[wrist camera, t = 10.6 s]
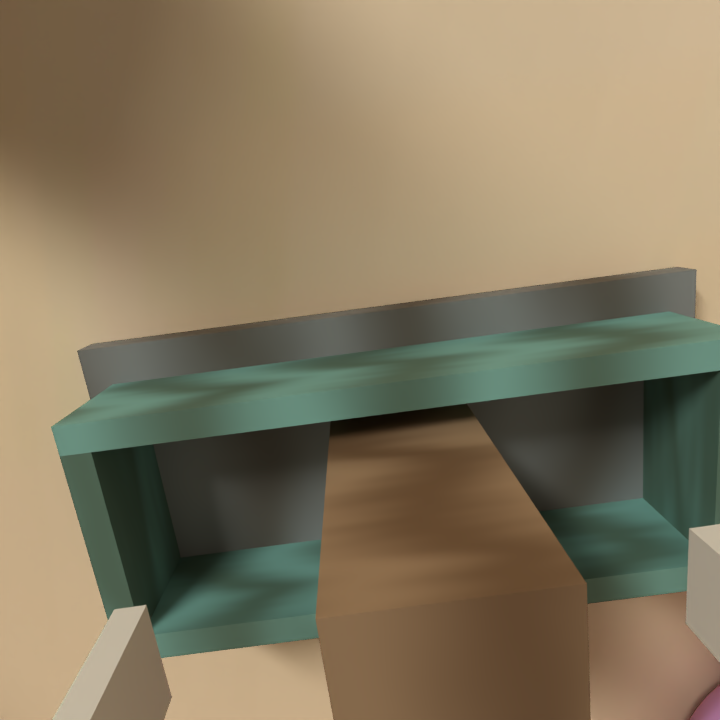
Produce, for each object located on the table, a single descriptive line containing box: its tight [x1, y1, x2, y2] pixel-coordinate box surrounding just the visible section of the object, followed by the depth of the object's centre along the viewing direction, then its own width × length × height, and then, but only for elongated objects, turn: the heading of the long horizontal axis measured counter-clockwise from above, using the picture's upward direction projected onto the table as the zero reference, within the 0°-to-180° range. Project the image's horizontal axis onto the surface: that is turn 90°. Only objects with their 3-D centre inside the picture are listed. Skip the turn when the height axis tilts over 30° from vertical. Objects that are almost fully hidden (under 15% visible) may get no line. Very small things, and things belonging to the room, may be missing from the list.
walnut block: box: [315, 403, 591, 720], centre depth 16 cm, size 5×5×12 cm
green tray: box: [51, 267, 720, 658], centre depth 20 cm, size 24×12×6 cm, turn 97°
